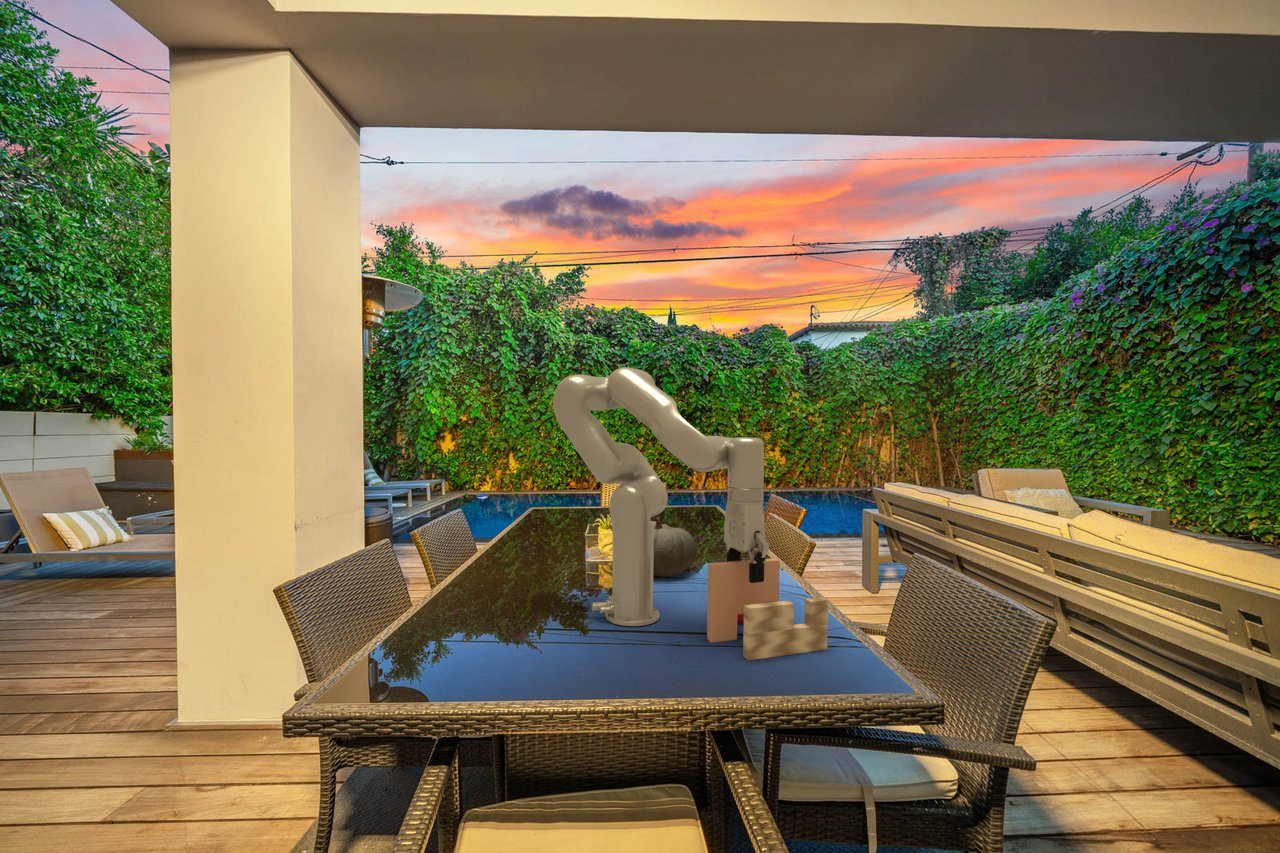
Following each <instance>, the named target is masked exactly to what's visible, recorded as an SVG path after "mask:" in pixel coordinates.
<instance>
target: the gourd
mask: <svg viewBox="0 0 1280 853" xmlns="http://www.w3.org/2000/svg"><path fill="white" fill-rule="evenodd" d="M651 526H652V531H653V540H654V559H653V576H655V577H662V578H663V577H665V578H666V577H667V578H668V577H670V576H673V577H674V576H676V575H678V574H680V573H683V572H685V571H686V570H689V568H690V567H691V566H692V565H693V564H694V562H695V561H696V558H697V556H698V555H697V554H698V553H697V552H698V546H697V543H696V541H695V539H694V537H693V535H692V534H691V533H690V532H689V531H687V530H686V529H684V528H680V527H671V526H670V525H668V524H666V523H664V524H663V523H662V521H661V519H660V517H659V516H657V517H656V519H655V521H653V520H651Z"/></svg>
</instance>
